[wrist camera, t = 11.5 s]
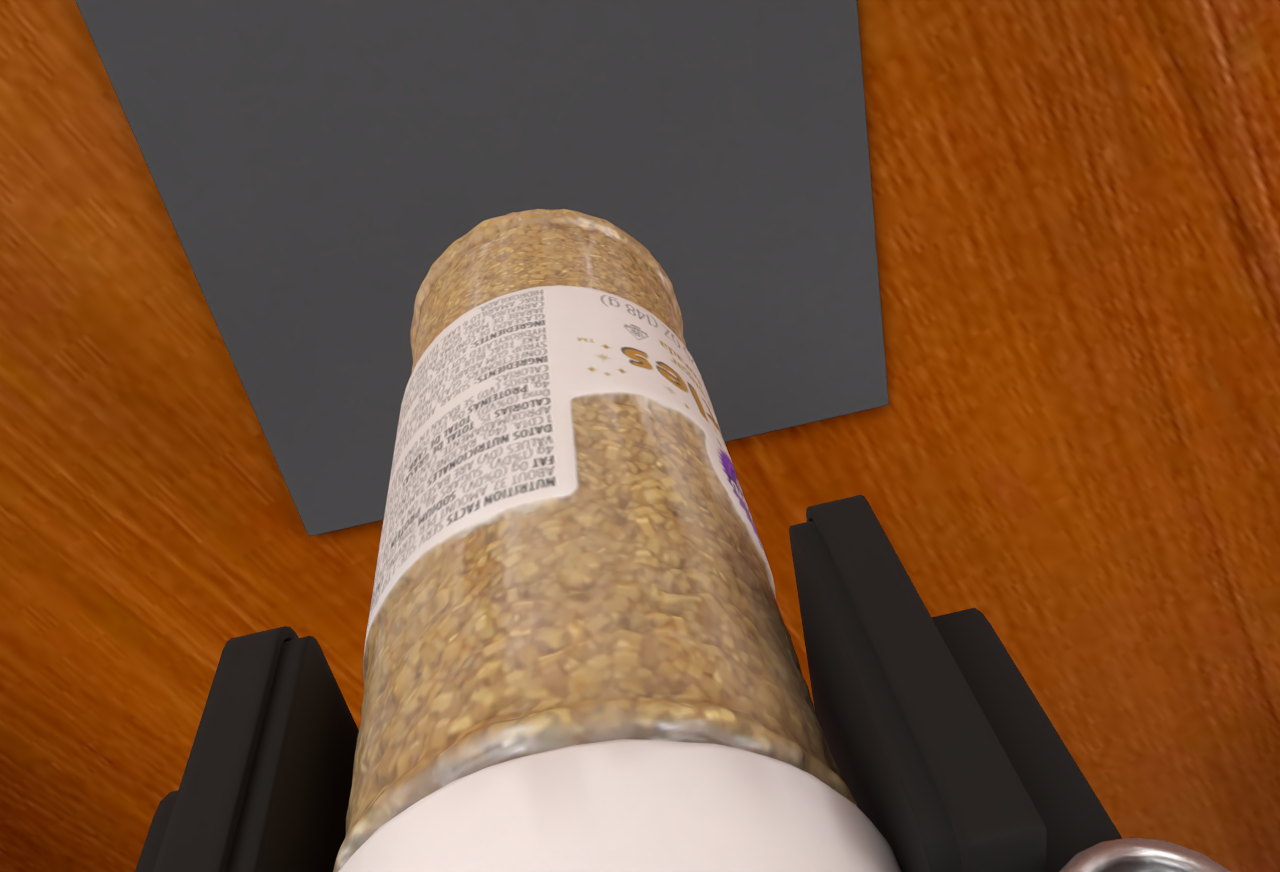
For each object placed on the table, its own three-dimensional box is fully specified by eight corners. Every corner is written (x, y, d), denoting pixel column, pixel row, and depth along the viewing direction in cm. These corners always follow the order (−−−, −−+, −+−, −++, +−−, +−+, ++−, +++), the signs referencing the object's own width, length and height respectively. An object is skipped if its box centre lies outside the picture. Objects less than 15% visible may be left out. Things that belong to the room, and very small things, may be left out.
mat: (828, -300, 21) (833, -302, 21) (884, 398, 29) (889, 405, 29) (28, -123, 21) (21, -122, 21) (310, 529, 29) (308, 537, 29)
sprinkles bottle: (724, 360, 19) (1098, 1224, 7) (508, 487, 20) (538, 1452, 8) (584, 140, 17) (808, 882, 5) (348, 293, 17) (74, 1240, 6)
